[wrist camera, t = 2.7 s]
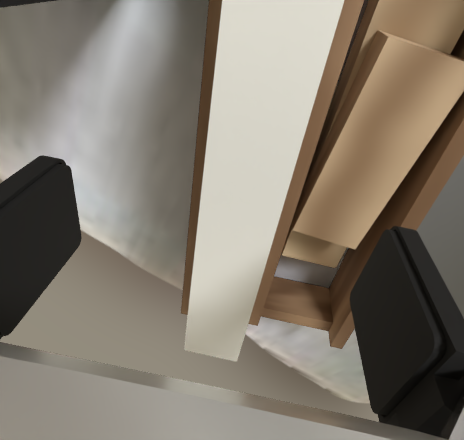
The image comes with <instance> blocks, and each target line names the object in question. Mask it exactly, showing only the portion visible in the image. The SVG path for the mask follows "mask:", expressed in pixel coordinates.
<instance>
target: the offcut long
mask: <svg viewBox="0 0 464 440" xmlns="http://www.w3.org/2000/svg"><path fill="white" fill-rule="evenodd" d="M378 30H379V31H382V32H385V33H388V34H391V35H394V36H397V37H400V38H403V39H406V40H409V41H412V42H415V43H418V44H421V45H424V46H427V47H430V48H433V49H436V50H439V51H442V52H445V53H448V54H451V52H452V50H453V48H454V46H455V45H456V43H457V41H458V39H459V37H460V35H461V33H462V31H463V30H464V0H369V1H368V4H367V6H366V9H365V12H364V15H363V17H362V20H361V23H360V26H359V28H358V31H357V34H356V37H355V39H354V42H353V45H352V48H351V50H350V53H349V56H348V59H347V61H346V64H345V67H344V69H343V72H342V75H341V78H340V80H339V83H338V86H337V89H336V91H335V94H334V97H333V100H332V102H331V105H330V108H329V111H328V113H327V116H326V119H325V122H324V125H323V128H322V131H321V134H320V137H319V140H318V143H317V146H316V149H315V152H314V155H313V158H312V161H311V164H310V167H309V170H308V173H307V176H306V179H305V183H306V181H307V179H308V177H309V175H310V173H311V171H312V169H313V166H314V164H315V162H316V160H317V158H318V156H319V154H320V152H321V150H322V147H323V145H324V143H325V141H326V139H327V137H328V135H329V133H330V131H331V128H332V126H333V124H334V122H335V120H336V118H337V116H338V114H339V112H340V109H341V107H342V105H343V103H344V101H345V99H346V97H347V95H348V92H349V90H350V88H351V86H352V84H353V82H354V80H355V78H356V76H357V73H358V71H359V69H360V67H361V65H362V63H363V61H364V59H365V57H366V54H367V52H368V50H369V48H370V46H371V44H372V42H373V40H374V38H375V35H376V33H377V31H378ZM305 183H304V185H305ZM303 188H304V186H303ZM302 190H303V189H302ZM346 248H347V247H345V246H342V245H339V244H335V243H332V242H329V241H326V240H323V239H319V238H316V237H313V236H310V235H306V234H303V233H300V232H297V231H293V219H292V222H291V225H290V228H289V231H288V234H287V237H286V241H285V244H284V247H283V250H282V255H283V256H287V257H291V258H295V259H299V260H303V261H308V262H312V263H316V264H320V265H324V266H328V267H332V268H336V267H337V265H338V263H339V261H340V259H341V258H342V256H343V254H344V252H345V250H346Z"/></svg>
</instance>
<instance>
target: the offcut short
mask: <svg viewBox="0 0 464 440" xmlns="http://www.w3.org/2000/svg"><path fill="white" fill-rule="evenodd" d="M463 91H464V59H462V58H460V57H457V56H454V55H451V54H448V53H445V52H442V51H439V50H436V49H433V48H430V47H427V46H424V45H421V44H418V43H415V42H412V41H409V40H406V39H403V38H400V37H397V36H394V35H391V34H388V33H385V32H382V31H379V30H378V31H377V33H376V35H375V38H374V40H373V42H372V44H371V46H370V48H369V50H368V52H367V54H366V57H365V59H364V61H363V63H362V65H361V67H360V69H359V71H358V73H357V76H356V78H355V80H354V82H353V84H352V86H351V88H350V90H349V92H348V95H347V97H346V99H345V101H344V103H343V105H342V107H341V109H340V112H339V114H338V116H337V118H336V120H335V122H334V124H333V126H332V128H331V131H330V133H329V135H328V137H327V139H326V141H325V143H324V145H323V147H322V150H321V152H320V154H319V156H318V158H317V160H316V162H315V164H314V166H313V169H312V171H311V173H310V175H309V177H308V179H307V181H306V183H305V185H304V188H303V190H302V192H301V195H300V198H299V201H298V204H297V207H296V210H295V213H294V216H293V231H297V232H300V233H303V234H306V235H310V236H313V237H316V238H319V239H323V240H326V241H329V242H332V243H335V244H339V245H342V246H345V247H348V248H352V249H356V248H357V246H358V245H359V243H360V242H361V240H362V239H363V238H364V236H365V235H366V233H367V232H368V230H369V229H370V227H371V226H372V224H373V223H374V221H375V220H376V219H377V217H378V216H379V214H380V213H381V211H382V210H383V208H384V207H385V205H386V204H387V202H388V201H389V200H390V198H391V197H392V195H393V194H394V192H395V191H396V189H397V188H398V186H399V185H400V183H401V182H402V181H403V179H404V178H405V176H406V175H407V173H408V172H409V170H410V169H411V167H412V166H413V164H414V163H415V162H416V160H417V159H418V157H419V156H420V154H421V153H422V151H423V150H424V148H425V147H426V146H427V144H428V143H429V141H430V140H431V138H432V137H433V135H434V134H435V132H436V131H437V129H438V128H439V127H440V125H441V124H442V122H443V121H444V119H445V118H446V116H447V115H448V113H449V112H450V110H451V109H452V108H453V106H454V105H455V103H456V102H457V100H458V99H459V97H460V96H461V94H462V93H463Z"/></svg>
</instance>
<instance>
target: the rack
mask: <svg viewBox="0 0 464 440" xmlns="http://www.w3.org/2000/svg"><path fill="white" fill-rule="evenodd" d="M363 2H364V0H344V4H343V7H342V10H341V14H340V17H339V20H338V24H337V27H336V30H335V34H334V37H333V41H332V44H331V47H330V51H329V54H328V57H327V61H326V64H325V67H324V71H323V74H322V78H321V81H320V84H319V88H318V91H317V94H316V98H315V101H314V104H313V108H312V111H311V115H310V118H309V121H308V125H307V128H306V131H305V135H304V138H303V141H302V145H301V148H300V152H299V155H298V158H297V162H296V165H295V168H294V172H293V175H292V178H291V182H290V185H289V189H288V192H287V195H286V199H285V202H284V205H283V209H282V212H281V215H280V219H279V222H278V226H277V229H276V232H275V236H274V239H273V242H272V246H271V249H270V252H269V256H268V259H267V263H266V266H265V269H264V273H263V276H262V279H261V283H260V286H259V289H258V293H257V296H256V300H255V303H254V306H253V310H252V313H251V316H250V320H249V323H248V324H252V325H256V326H258V323H259V320H260V317H261V316H262V317H266V318H271V319H275V320H280V321H285V322H289V323H294V324H298V325H303V326H307V327H312V328H317V329H321V330H326V331H329V339H330V346H331V347H336V348H340V349H342V348H343V346H344V345H345V343H346V341H347V340H348V338H349V337H350V335H351V333H352V332H353V330H354V329H355V326H354V321H353V316H352V311H351V306H350V293H351V291H352V289H353V287H354V285H355V283H356V281H357V279H358V278H359V276H360V274H361V272H362V270H363V268H364V266H365V265H366V263H367V261H368V259H369V257H370V255H371V254H372V252H373V250H374V248H375V246H376V244H377V243H378V241H379V239H380V237H381V235H382V233H383V232H384V231H385V230H387V229H388V230H390V229H391V228H392V227H393V226H399V227H404V228H409V229H414V230H417V229H418V227H419V226H420V224H421V222H422V221H423V219H424V218H425V216H426V214H427V213H428V211H429V210H430V208H431V207H432V205H433V203H434V202H435V200H436V199H437V197H438V195H439V194H440V192H441V191H442V189H443V187H444V186H445V184H446V183H447V181H448V180H449V178H450V176H451V175H452V173H453V172H454V170H455V168H456V167H457V165H458V164H459V162H460V160H461V159H462V157H463V156H464V91H463V93H462V94H461V96H460V97H459V99H458V100H457V102H456V103H455V105H454V106H453V108H452V109H451V110H450V112H449V113H448V115H447V116H446V118H445V119H444V121H443V122H442V124H441V125H440V127H439V128H438V129H437V131H436V132H435V134H434V135H433V137H432V138H431V140H430V141H429V143H428V144H427V146H426V147H425V148H424V150H423V151H422V153H421V154H420V156H419V157H418V159H417V160H416V162H415V163H414V164H413V166H412V167H411V169H410V170H409V172H408V173H407V175H406V176H405V178H404V179H403V181H402V182H401V183H400V185H399V186H398V188H397V189H396V191H395V192H394V194H393V195H392V197H391V198H390V200H389V201H388V202H387V204H386V205H385V207H384V208H383V210H382V211H381V213H380V214H379V216H378V217H377V219H376V220H375V221H374V223H373V224H372V226H371V227H370V229H369V230H368V232H367V233H366V235H365V236H364V238H363V239H362V240H361V242H360V243H359V245H358V246H357V248H356V249H352V248H349V249H348V251H347V253H346V255H345V257H344V259H343V261H342V263H341V265H340V267H339V269H338V271H337V273H336V275H335V277H334V279H333V281H332V283H331V285H330V288H325V287H321V286H316V285H311V284H307V283H302V282H297V281H293V280H288V279H283V278H279V277H274V274H275V271H276V268H277V265H278V262H279V259H280V256H281V253H282V250H283V247H284V244H285V241H286V237H287V234H288V231H289V228H290V225H291V222H292V219H293V216H294V213H295V210H296V207H297V204H298V201H299V198H300V195H301V192H302V189H303V186H304V183H305V179H306V176H307V173H308V170H309V167H310V164H311V161H312V158H313V155H314V152H315V149H316V146H317V143H318V140H319V137H320V134H321V131H322V128H323V125H324V121H325V118H326V115H327V112H328V109H329V106H330V103H331V100H332V97H333V94H334V91H335V88H336V85H337V82H338V79H339V76H340V73H341V70H342V67H343V64H344V60H345V57H346V54H347V51H348V48H349V45H350V42H351V39H352V36H353V33H354V30H355V27H356V24H357V21H358V18H359V15H360V12H361V9H362V6H363ZM221 8H222V0H209V5H208V17H207V28H206V39H205V50H204V61H203V72H202V84H201V95H200V106H199V117H198V128H197V139H196V151H195V162H194V173H193V184H192V195H191V207H190V218H189V229H188V240H187V251H186V262H185V274H184V285H183V296H182V307H181V313H182V314H187V315H188V308H189V299H190V290H191V281H192V271H193V262H194V253H195V244H196V235H197V226H198V217H199V208H200V199H201V190H202V180H203V171H204V162H205V153H206V144H207V135H208V126H209V117H210V108H211V99H212V89H213V80H214V71H215V62H216V53H217V44H218V35H219V26H220V17H221ZM451 55H454V56H457V57H460V58H462V59H464V30H463V31H462V33H461V35H460V37H459V39H458V41H457V43H456V45H455V46H454V48H453V50H452V52H451Z"/></svg>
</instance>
